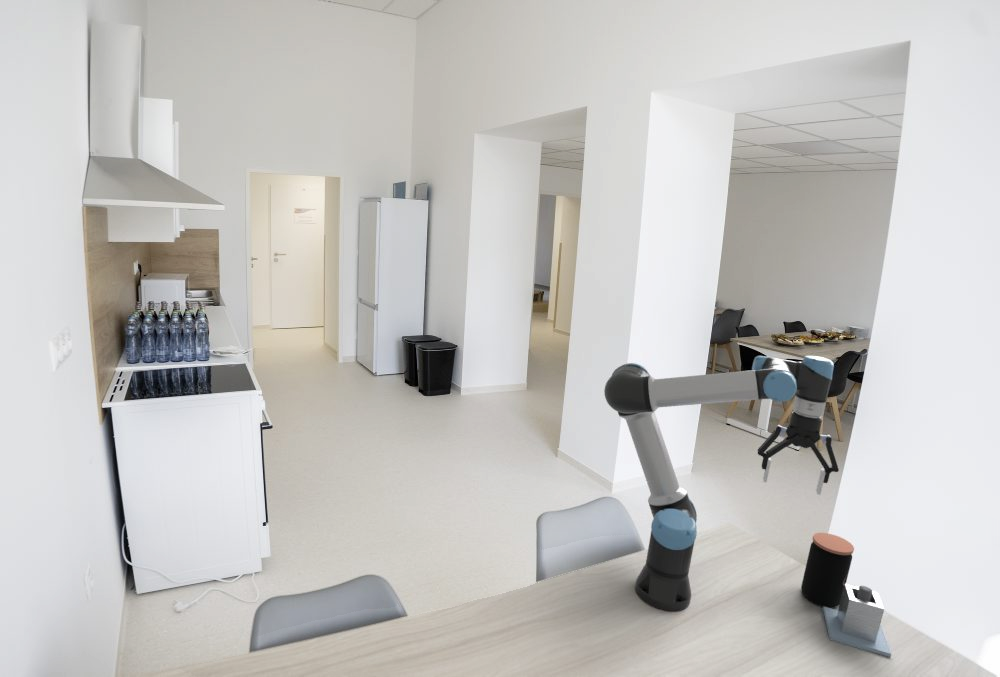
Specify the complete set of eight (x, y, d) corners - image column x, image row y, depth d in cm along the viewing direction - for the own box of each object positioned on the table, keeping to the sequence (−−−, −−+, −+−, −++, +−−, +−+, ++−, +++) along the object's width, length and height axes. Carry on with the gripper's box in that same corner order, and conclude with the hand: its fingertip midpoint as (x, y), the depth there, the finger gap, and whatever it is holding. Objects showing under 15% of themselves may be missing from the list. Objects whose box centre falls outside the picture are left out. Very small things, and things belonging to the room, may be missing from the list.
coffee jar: (845, 613, 176) (860, 555, 172) (805, 604, 178) (818, 547, 174) (833, 591, 186) (847, 536, 182) (796, 583, 188) (808, 529, 184)
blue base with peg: (829, 639, 163) (840, 595, 161) (822, 609, 176) (832, 568, 173) (890, 657, 159) (902, 612, 156) (878, 625, 172) (889, 583, 169)
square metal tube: (841, 633, 165) (849, 599, 163) (836, 615, 172) (844, 583, 170) (875, 642, 162) (884, 608, 160) (869, 624, 170) (877, 592, 168)
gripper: (758, 407, 168) (743, 480, 172) (861, 427, 160) (843, 503, 164) (757, 400, 175) (743, 470, 179) (856, 419, 167) (839, 492, 171)
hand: (791, 486), depth 172 cm, fingers open, 13 cm apart
